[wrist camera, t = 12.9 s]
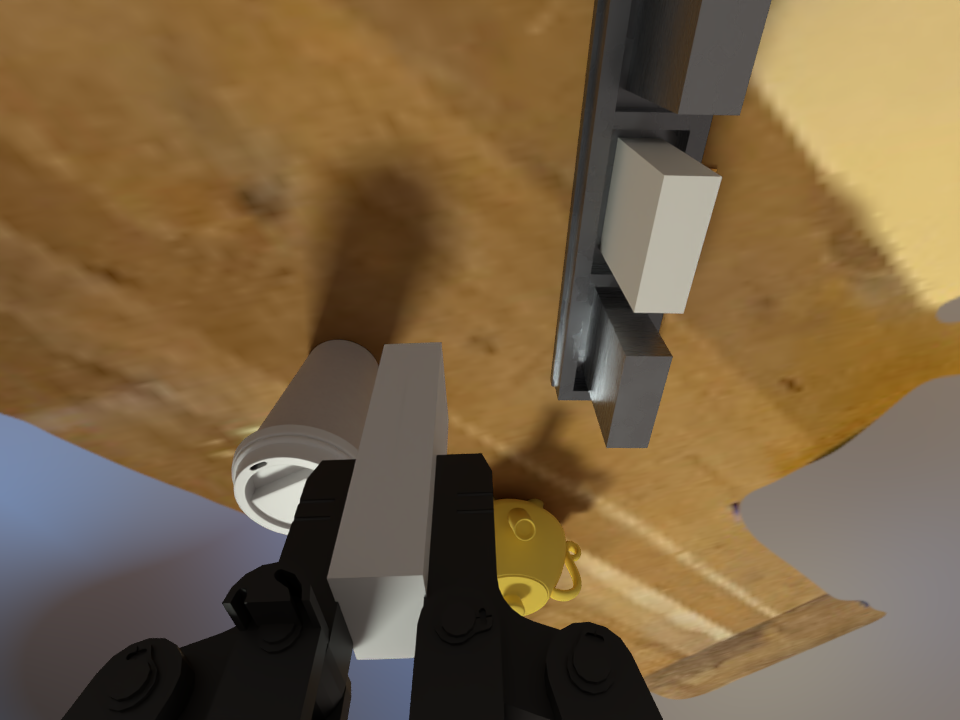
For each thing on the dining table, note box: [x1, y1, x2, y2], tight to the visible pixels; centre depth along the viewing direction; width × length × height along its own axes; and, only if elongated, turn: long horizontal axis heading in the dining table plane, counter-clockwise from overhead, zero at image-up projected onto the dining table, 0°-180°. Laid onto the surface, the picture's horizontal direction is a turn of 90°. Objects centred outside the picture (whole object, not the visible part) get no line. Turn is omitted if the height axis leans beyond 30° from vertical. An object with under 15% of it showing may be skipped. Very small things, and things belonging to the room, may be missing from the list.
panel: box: [600, 138, 722, 313], centre depth 32 cm, size 8×3×10 cm, turn 179°
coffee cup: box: [232, 340, 379, 535], centre depth 40 cm, size 10×10×15 cm
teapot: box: [493, 497, 581, 616], centre depth 53 cm, size 14×14×11 cm
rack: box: [550, 0, 771, 448], centre depth 33 cm, size 34×10×11 cm, turn 179°
